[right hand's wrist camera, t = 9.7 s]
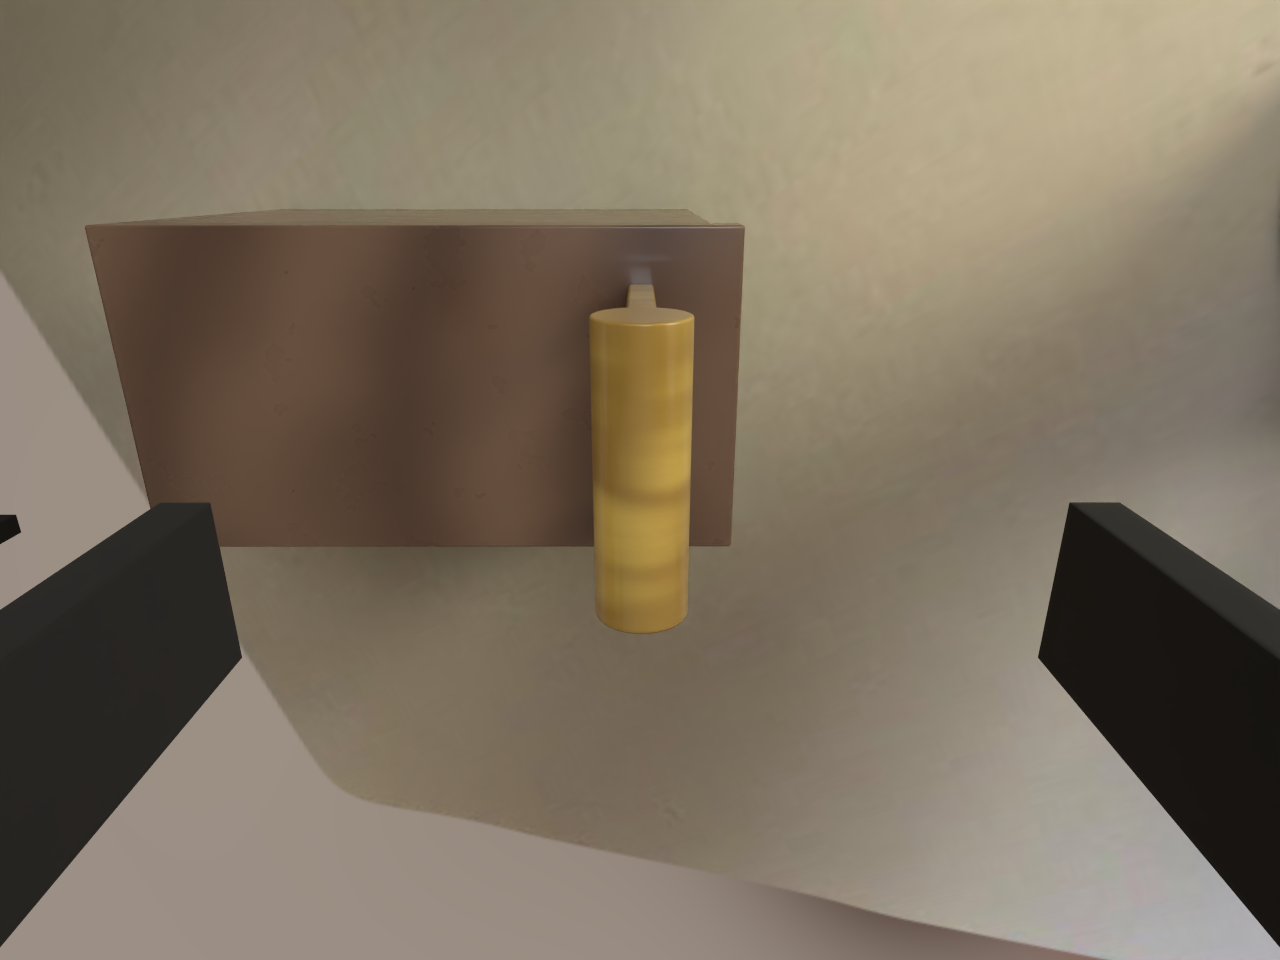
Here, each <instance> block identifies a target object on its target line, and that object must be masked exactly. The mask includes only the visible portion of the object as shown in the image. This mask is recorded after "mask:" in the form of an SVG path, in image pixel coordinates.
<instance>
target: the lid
mask: <svg viewBox="0 0 1280 960" xmlns="http://www.w3.org/2000/svg"><path fill="white" fill-rule="evenodd" d="M85 229H86V234H87V238H88V242H89V247H90V251H91V255H92V259H93V264H94V268H95V272H96V277H97V281H98V285H99V289H100V294H101V298H102V302H103V307H104V311H105V315H106V320H107V324H108V328H109V332H110V337H111V341H112V345H113V350H114V354H115V358H116V362H117V367H118V371H119V375H120V380H121V384H122V388H123V392H124V397H125V401H126V405H127V410H128V414H129V418H130V423H131V427H132V431H133V435H134V440H135V444H136V448H137V453H138V457H139V461H140V465H141V470H142V474H143V478H144V483H145V487H146V491H147V496H148V500H149V504H150V508H153V507H154V506H156V505H157V504H159V503H211V508H212V513H213V518H214V523H215V528H216V533H217V538H218V543H219V547H261V546H594V563H595V608H596V614H597V616H598V618H599V619H600V620H601V622H603V623H604V624H605V625H607V626H608V627H611V628H613V629H615V630H618V631H622V632H627V633H635V634H648V633H656V632H661V631H665V630H668V629H671V628H673V627H675V626H676V625H678V624H679V623H680V622H682V621H683V619H684V618H685V616H686V614H687V610H688V568H689V546H730V545H731V529H732V506H733V483H734V460H735V438H736V415H737V392H738V369H739V347H740V324H741V301H742V278H743V256H744V233H745V227H744V226H743V225H741V224H738V223H109V224H97V225H87V226H85Z"/></svg>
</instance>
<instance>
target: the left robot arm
mask: <svg viewBox="0 0 1280 960" xmlns="http://www.w3.org/2000/svg"><path fill="white" fill-rule="evenodd" d="M19 533H21V530H20V527H19V524H18V520H17V517H16V515H0V544H1V543H3V542H5V541H6V540H8V539H10V538H12V537H14V536H15V535H17V534H19Z"/></svg>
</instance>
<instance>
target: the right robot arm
mask: <svg viewBox="0 0 1280 960" xmlns="http://www.w3.org/2000/svg"><path fill="white" fill-rule="evenodd" d="M241 658H242V655H241V650H240V646H239V641H238V636H237V631H236V626H235V621H234V616H233V611H232V606H231V601H230V596H229V592H228V587H227V582H226V577H225V572H224V567H223V562H222V557H221V552H220V547H219V543H218V538H217V533H216V528H215V523H214V518H213V513H212V508H211V503H159V504H157V505H156V506H154V507H153V508H151V509H150V510H149V511H147V512H145V513H144V514H142V515H141V516H140V517H138V518H137V519H135V520H134V521H132V522H131V523H129V524H128V525H126V526H125V527H123V528H122V529H120V530H119V531H117V532H116V533H114V534H113V535H111V536H110V537H108V538H107V539H105V540H104V541H102V542H101V543H99V544H98V545H96V546H95V547H93V548H92V549H90V550H89V551H87V552H86V553H84V554H83V555H81V556H80V557H78V558H77V559H76V560H74V561H72V562H71V563H69V564H68V565H67V566H65V567H64V568H62V569H61V570H59V571H58V572H56V573H55V574H53V575H52V576H50V577H49V578H47V579H46V580H44V581H43V582H41V583H40V584H38V585H37V586H35V587H34V588H32V589H31V590H29V591H28V592H26V593H25V594H23V595H22V596H20V597H19V598H17V599H16V600H14V601H13V602H11V603H10V604H8V605H7V606H5V607H4V608H2V609H1V610H0V947H1V946H2V944H3V943H4V942H5V941H6V940H7V938H8V937H9V936H10V935H11V934H12V932H13V931H14V930H15V929H16V928H17V926H18V925H19V924H20V923H21V922H22V920H23V919H24V918H25V917H26V916H27V914H28V913H29V912H30V911H31V910H32V908H33V907H34V906H35V905H36V904H37V902H38V901H39V900H40V899H41V898H42V896H43V895H44V894H45V893H46V892H47V890H48V889H49V888H50V887H51V886H52V885H53V883H54V882H55V881H56V880H57V878H58V877H59V876H60V875H61V874H62V872H63V871H64V870H65V869H66V868H67V866H68V865H69V864H70V863H71V862H72V861H73V859H74V858H75V857H76V856H77V855H78V853H79V852H80V851H81V850H82V849H83V847H84V846H85V845H86V844H87V843H88V841H89V840H90V839H91V838H92V837H93V835H94V834H95V833H96V832H97V831H98V829H99V828H100V827H101V826H102V825H103V823H104V822H105V821H106V820H107V819H108V817H109V816H110V815H111V814H112V813H113V811H114V810H115V809H116V808H117V807H118V805H119V804H120V803H121V802H122V801H123V799H124V798H125V797H126V796H127V795H128V793H129V792H130V791H131V790H132V789H133V787H134V786H135V785H136V784H137V783H138V781H139V780H140V779H141V778H142V777H143V775H144V774H145V773H146V772H147V771H148V769H149V768H150V767H151V766H152V765H153V763H154V762H155V761H156V760H157V759H158V757H159V756H160V755H161V754H162V753H163V751H164V750H165V749H166V748H167V747H168V746H169V744H170V743H171V742H172V741H173V740H174V738H175V737H176V736H177V735H178V734H179V732H180V731H181V730H182V729H183V728H184V726H185V725H186V724H187V723H188V722H189V720H190V719H191V718H192V717H193V715H194V714H195V713H196V712H197V711H198V710H199V708H200V707H201V706H202V705H203V703H204V702H205V701H206V700H207V699H208V698H209V696H210V695H211V694H212V693H213V692H214V690H215V689H216V688H217V687H218V686H219V684H220V683H221V682H222V681H223V680H224V678H225V677H226V676H227V675H228V674H229V672H230V671H231V670H232V669H233V668H234V666H235V665H236V664H237V663H238V662H239V660H240V659H241ZM1038 658H1039V659H1040V660H1041V662H1042V663H1043V664H1044V665H1045V666H1046V668H1047V669H1048V670H1049V671H1050V672H1051V674H1052V675H1053V676H1054V677H1055V678H1056V680H1057V681H1058V682H1059V683H1060V684H1061V686H1062V687H1063V688H1064V689H1065V690H1066V692H1067V693H1068V694H1069V695H1070V696H1071V698H1072V699H1073V700H1074V701H1075V702H1076V704H1077V705H1078V706H1079V707H1080V708H1081V710H1082V711H1083V712H1084V713H1085V714H1086V716H1087V717H1088V718H1089V719H1090V720H1091V722H1092V723H1093V724H1094V725H1095V726H1096V728H1097V729H1098V730H1099V731H1100V732H1101V734H1102V735H1103V736H1104V737H1105V738H1106V740H1107V741H1108V742H1109V743H1110V744H1111V746H1112V747H1113V748H1114V749H1115V750H1116V752H1117V753H1118V754H1119V755H1120V756H1121V758H1122V759H1123V760H1124V761H1125V762H1126V763H1127V765H1128V766H1129V767H1130V768H1131V769H1132V771H1133V772H1134V773H1135V774H1136V775H1137V777H1138V778H1139V779H1140V780H1141V781H1142V783H1143V784H1144V785H1145V786H1146V787H1147V789H1148V790H1149V791H1150V792H1151V793H1152V795H1153V796H1154V797H1155V798H1156V799H1157V801H1158V802H1159V803H1160V804H1161V805H1162V807H1163V808H1164V809H1165V810H1166V811H1167V813H1168V814H1169V815H1170V816H1171V817H1172V819H1173V820H1174V821H1175V822H1176V823H1177V825H1178V826H1179V827H1180V828H1181V829H1182V831H1183V832H1184V833H1185V834H1186V835H1187V837H1188V838H1189V839H1190V840H1191V841H1192V843H1193V844H1194V845H1195V846H1196V847H1197V849H1198V850H1199V851H1200V852H1201V853H1202V855H1203V856H1204V857H1205V858H1206V859H1207V861H1208V862H1209V863H1210V864H1211V865H1212V867H1213V868H1214V869H1215V870H1216V871H1217V873H1218V874H1219V875H1220V876H1221V877H1222V879H1223V880H1224V881H1225V882H1226V883H1227V885H1228V886H1229V887H1230V888H1231V889H1232V890H1233V892H1234V893H1235V894H1236V895H1237V896H1238V898H1239V899H1240V900H1241V901H1242V902H1243V904H1244V905H1245V906H1246V907H1247V908H1248V910H1249V911H1250V912H1251V913H1252V914H1253V916H1254V917H1255V918H1256V919H1257V920H1258V922H1259V923H1260V924H1261V925H1262V926H1263V928H1264V929H1265V930H1266V931H1267V932H1268V934H1269V935H1270V936H1271V937H1272V938H1273V940H1274V941H1275V942H1276V943H1277V944H1278V946H1279V947H1280V610H1279V609H1278V608H1276V607H1275V606H1273V605H1272V604H1270V603H1269V602H1267V601H1266V600H1264V599H1263V598H1261V597H1260V596H1258V595H1257V594H1255V593H1254V592H1252V591H1251V590H1249V589H1248V588H1246V587H1245V586H1243V585H1242V584H1240V583H1239V582H1237V581H1236V580H1234V579H1233V578H1231V577H1230V576H1228V575H1227V574H1225V573H1224V572H1222V571H1221V570H1219V569H1218V568H1216V567H1215V566H1214V565H1212V564H1211V563H1209V562H1208V561H1206V560H1205V559H1203V558H1202V557H1200V556H1199V555H1197V554H1196V553H1194V552H1193V551H1191V550H1190V549H1188V548H1187V547H1185V546H1184V545H1182V544H1181V543H1179V542H1178V541H1176V540H1175V539H1173V538H1172V537H1170V536H1169V535H1167V534H1166V533H1164V532H1163V531H1161V530H1160V529H1158V528H1157V527H1155V526H1154V525H1152V524H1151V523H1149V522H1148V521H1146V520H1145V519H1143V518H1142V517H1140V516H1139V515H1138V514H1136V513H1135V512H1133V511H1132V510H1130V509H1129V508H1127V507H1126V506H1124V505H1123V504H1121V503H1069V508H1068V513H1067V518H1066V523H1065V528H1064V533H1063V538H1062V543H1061V547H1060V552H1059V557H1058V562H1057V567H1056V572H1055V577H1054V582H1053V587H1052V592H1051V596H1050V601H1049V606H1048V611H1047V616H1046V621H1045V626H1044V631H1043V636H1042V641H1041V646H1040V650H1039V655H1038Z"/></svg>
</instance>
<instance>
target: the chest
mask: <svg viewBox="0 0 1280 960" xmlns="http://www.w3.org/2000/svg"><path fill="white" fill-rule="evenodd" d="M122 223H709V222H707V221H706V220H704V219H702V218H701V217H699V216H697V215H696V214H694V213H692V212H691V211H689V210H270V211H258V212H245V213H233V214H221V215H208V216H196V217H184V218H171V219H159V220H146V221H134V222H122Z"/></svg>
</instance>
